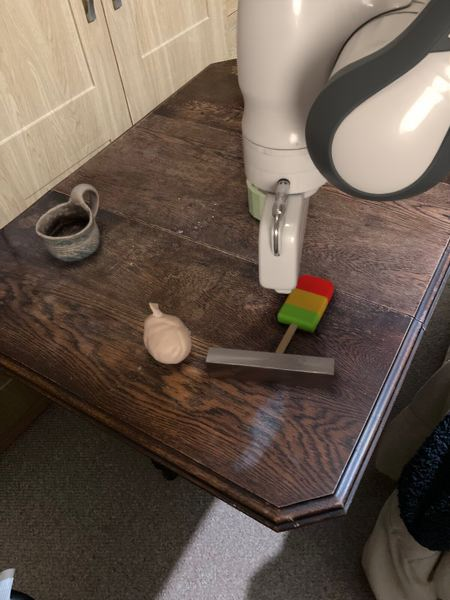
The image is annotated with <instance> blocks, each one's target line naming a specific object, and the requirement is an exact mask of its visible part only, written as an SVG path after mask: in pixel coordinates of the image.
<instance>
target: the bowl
mask: <svg viewBox="0 0 450 600" xmlns="http://www.w3.org/2000/svg"><path fill="white" fill-rule="evenodd" d="M245 183H246V198H247V208H248V211H249V213H250V214H251V216H253V218H255V219H257V220H258V221H260V219H261V215H262V210H263V206H264V202H265V198H266V195H264V194H263V193H262V192H261V191H260V189H259V188H258V187H256V186H254V185H253V184H252V183H251V182H250V181H249V180H248V179H247V178H246V181H245Z"/></svg>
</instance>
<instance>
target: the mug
mask: <svg viewBox="0 0 450 600" xmlns="http://www.w3.org/2000/svg"><path fill="white" fill-rule="evenodd" d="M87 192H88V194H89V204H86V201H85V200H84V197H83V196H84V193H87ZM99 207H100V195H99V192H98V190H97V189H96V188H95V187H94V186H93V185H91V184H89V183H79V184H77V185H75V186H74V187H73V189H72V190H71V192H70V195H69V199H68V201H67V202H63V203H60V204H57V205H55V206H53V207H52V208H50V209H49V210H47V211H46V212H45V213H43V214H42V215H41V216H40V217H39V219H38V220H37V222H36V224H35V233H36V234H37V235H38V236H39V237H40V238H41V239H42V242H43V244H44V246H45V247H46V250H47V251H48V252H49V253H50V254H51V255H52V256H53V257H54V258H56V259H58V260H60V261H63V262H76V261H80V260H83V259H86V258H88V257H89V256H91V255H92V254H94V252H96V250H97V249H98V247H99V245H100V238H101V233H100V229H99V227H98V224H97V221H96V217H97V214H98V212H99Z"/></svg>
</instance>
